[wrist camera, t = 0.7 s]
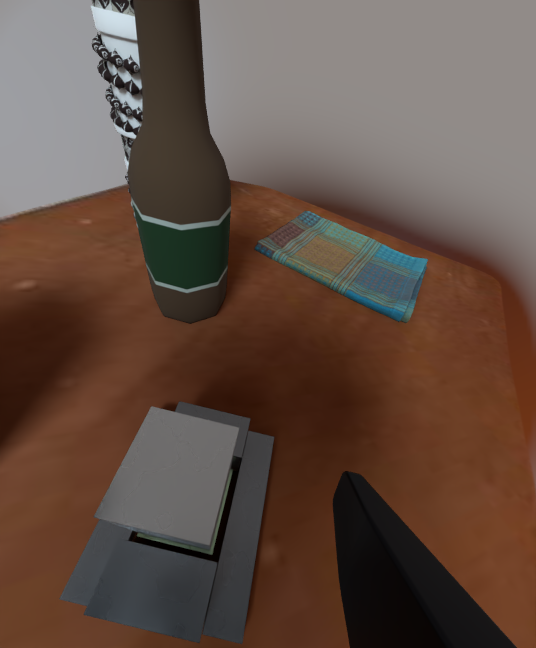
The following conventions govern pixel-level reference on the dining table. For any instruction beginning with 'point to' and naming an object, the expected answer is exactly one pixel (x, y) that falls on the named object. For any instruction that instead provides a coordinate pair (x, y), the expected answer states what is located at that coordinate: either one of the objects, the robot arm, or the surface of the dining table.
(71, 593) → the grey square frame
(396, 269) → the dish towel
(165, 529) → the grey rectangular block
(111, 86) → the decorative candle
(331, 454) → the dining table surface
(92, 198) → the dining table surface
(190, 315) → the beer bottle
